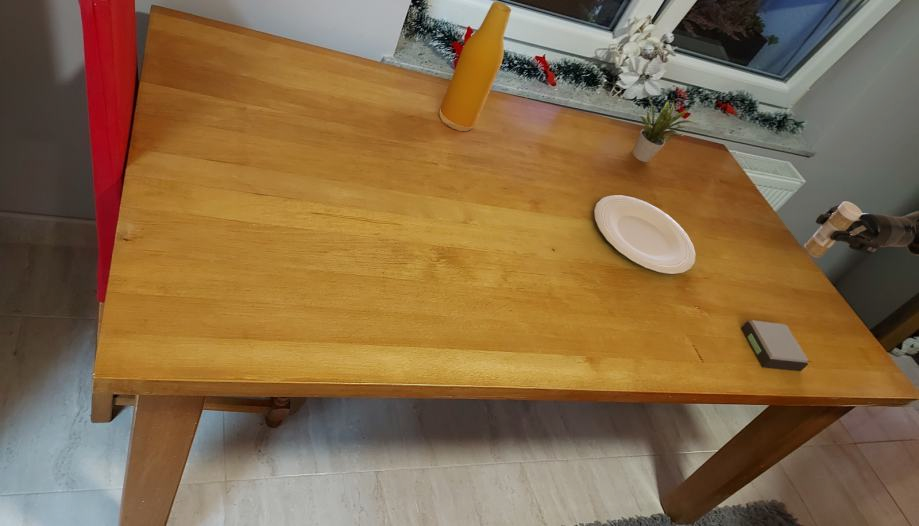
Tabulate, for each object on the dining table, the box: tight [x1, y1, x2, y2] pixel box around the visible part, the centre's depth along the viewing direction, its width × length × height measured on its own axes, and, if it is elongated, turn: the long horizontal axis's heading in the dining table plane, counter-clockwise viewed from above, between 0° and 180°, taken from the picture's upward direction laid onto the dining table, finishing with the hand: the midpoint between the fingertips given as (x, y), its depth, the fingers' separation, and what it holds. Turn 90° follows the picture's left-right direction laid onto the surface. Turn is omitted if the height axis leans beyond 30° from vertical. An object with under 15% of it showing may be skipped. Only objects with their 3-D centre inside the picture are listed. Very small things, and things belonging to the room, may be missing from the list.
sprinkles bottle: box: [803, 200, 863, 259], centre depth 150 cm, size 5×5×14 cm
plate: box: [593, 194, 697, 275], centre depth 152 cm, size 25×25×2 cm
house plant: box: [631, 96, 697, 163], centre depth 175 cm, size 14×14×16 cm
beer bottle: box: [439, 1, 512, 127], centre depth 152 cm, size 9×9×29 cm
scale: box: [740, 319, 809, 372], centre depth 139 cm, size 10×10×3 cm
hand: (826, 227), depth 148 cm, fingers closed on sprinkles bottle, 4 cm apart
